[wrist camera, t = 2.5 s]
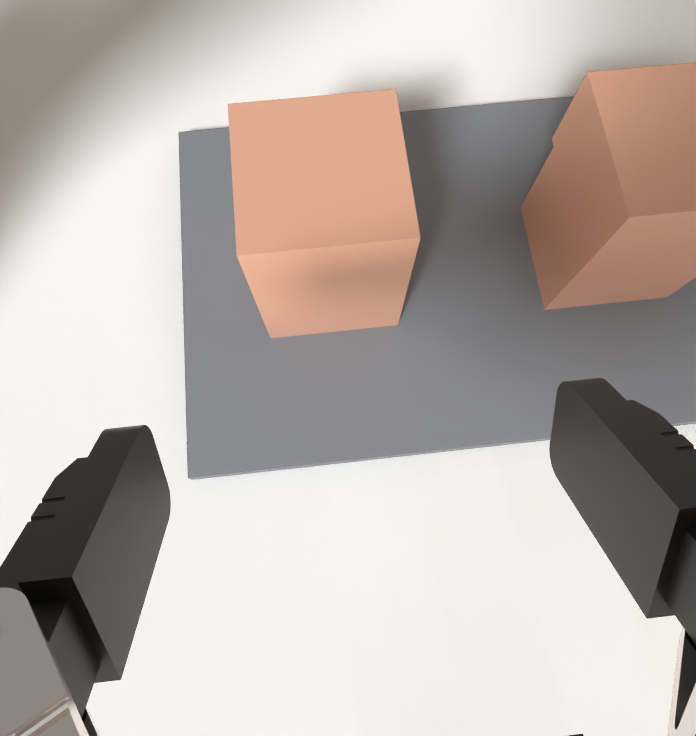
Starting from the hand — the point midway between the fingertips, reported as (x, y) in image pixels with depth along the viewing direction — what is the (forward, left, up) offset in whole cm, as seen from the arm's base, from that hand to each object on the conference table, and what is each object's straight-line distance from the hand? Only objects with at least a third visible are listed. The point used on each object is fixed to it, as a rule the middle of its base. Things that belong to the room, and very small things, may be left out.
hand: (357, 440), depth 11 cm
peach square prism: (0, +10, -13) cm, 16 cm away
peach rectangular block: (+13, +10, -13) cm, 21 cm away
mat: (+6, +10, -14) cm, 18 cm away
